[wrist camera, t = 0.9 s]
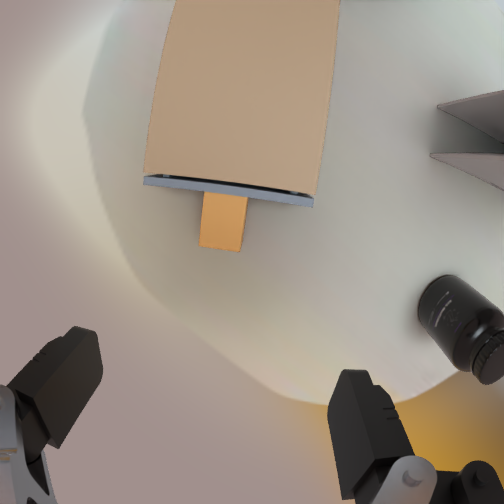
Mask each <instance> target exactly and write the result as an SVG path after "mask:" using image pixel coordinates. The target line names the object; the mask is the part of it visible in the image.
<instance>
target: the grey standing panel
mask: <svg viewBox="0 0 504 504" xmlns="http://www.w3.org/2000/svg"><path fill="white" fill-rule="evenodd" d="M437 108H439V109H441V110H443V111H445V112H447V113H449V114H451V115H453V116H455V117H457V118H459V119H461V120H463V121H465V122H467V123H468V124H470V125H472V126H474V127H476V128H477V129H479V130H481V131H483V132H484V133H486V134H488V135H490V136H491V137H493V138H494V139H496V140H498V141H499V142H501V143H502V144H504V90H502V91H497V92H492V93H487V94H482V95H478V96H473V97H469V98H465V99H460V100H456V101H452V102H448V103H444V104H440V105H438V106H437ZM430 157H432V158H435V159H437V160H439V161H442V162H444V163H447V164H449V165H451V166H453V167H456V168H458V169H460V170H462V171H465V172H467V173H469V174H471V175H473V176H475V177H477V178H479V179H481V180H483V181H485V182H487V183H489V184H491V185H493V186H495V187H497V188H499V189H501V190H503V191H504V153H434V154H430Z"/></svg>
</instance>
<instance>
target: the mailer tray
mask: <svg viewBox="0 0 504 504" xmlns="http://www.w3.org/2000/svg"><path fill="white" fill-rule="evenodd" d="M143 185H151V186H161V187H170V188H179V189H188V190H196V191H204V200H203V209H202V218H201V227H200V237H199V246H202V247H208V248H215V249H222V250H228V251H235V252H240V249H241V245H242V242H243V235H244V228H245V220H246V213H247V206H248V199H249V198H256V199H263V200H269V201H276V202H282V203H288V204H294V205H300V206H306V207H312V208H313V203H314V199H313V198H312V197H311V196H309V195H308V194H307V193H301V192H295V191H289V190H283V189H277V188H270V187H264V186H257V185H250V184H243V183H236V182H228V181H220V180H212V179H204V178H195V177H186V176H177V175H167V174H157V175H150V176H144V182H143Z"/></svg>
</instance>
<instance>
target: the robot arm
mask: <svg viewBox="0 0 504 504" xmlns="http://www.w3.org/2000/svg"><path fill="white" fill-rule="evenodd" d="M102 375H103V365H102V360H101V354H100V349H99V343H98V337H97V334H96V332H95V331H92V330H88V329H85V328H81V327H78V326H74V327H72V328H71V329H70V330H69V331H68V332H67V333H66V334H65V335H64V336H63V337H61V336H60V337H58V338H56V339H54V340H52V341H50V342H48V343H47V344H46V345H45V346H44V347H43V348H42V349H41V350H40V352H39V353H37V354H36V355H35V356H34V357H33V360H30V361H29V363H28V364H27V365H26V366H25V367H24V368H23V369H22V370H21V371H20V372H19V373H18V374H17V375H16V376H15V377H14V379H12V381H11V382H10V383H9V384H8V385H7V386H4V385H0V504H58V503H57V501H56V499H55V495H54V491H53V488H52V484H51V479H50V475H49V471H48V466H47V462H46V457H45V452H44V450H43V448H44V447H45V445H46V444H49V445H51V446H53V447H55V448H57V449H59V448H60V446H61V444H62V443H63V441H64V439H65V438H66V436H67V435H68V433H69V431H70V430H71V428H72V426H73V425H74V423H75V421H76V420H77V418H78V417H79V415H80V413H81V412H82V410H83V409H84V407H85V406H86V404H87V402H88V401H89V399H90V398H91V396H92V395H93V393H94V391H95V390H96V388H97V387H98V385H99V384H100V382H101V379H102ZM327 417H328V424H329V429H330V434H331V440H332V445H333V450H334V456H335V461H336V467H337V472H338V478H339V484H340V490H341V496H342V500H348V499H355V503H356V504H504V489H503V487H502V485H501V482H500V480H499V478H498V475H497V473H496V471H495V470H494V468H493V467H492V466H491V465H489V464H488V463H486V462H484V461H472V462H470V463H468V464H467V465H466V466H465V467H464V468H463V469H462V470H461V471H460V472H452V471H437V470H435V468H434V466H433V465H432V464H431V463H430V462H429V461H427V460H426V459H424V458H422V457H419V456H415V454H414V452H413V449H412V447H411V444H410V442H409V439H408V437H407V434H406V432H405V430H404V427H403V425H402V423H401V420H400V419H399V415H398V413H397V411H396V410H395V406H394V404H393V402H392V399H391V397H390V395H389V394H388V393H387V392H386V391H385V390H384V389H383V388H382V387H381V386H380V385H373V383H372V380H371V378H370V376H369V373H368V371H367V370H349V369H344V370H343V371H342V372H341V374H340V376H339V379H338V382H337V384H336V387H335V390H334V392H333V395H332V397H331V400H330V402H329V406H328V414H327Z"/></svg>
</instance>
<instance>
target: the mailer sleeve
mask: <svg viewBox="0 0 504 504" xmlns="http://www.w3.org/2000/svg"><path fill="white" fill-rule="evenodd" d="M339 6H340V0H176V2H175V6H174V9H173V13H172V16H171V20H170V24H169V28H168V32H167V36H166V40H165V44H164V48H163V53H162V57H161V62H160V66H159V71H158V76H157V81H156V87H155V92H154V98H153V104H152V110H151V116H150V123H149V130H148V137H147V145H146V153H145V162H144V171H143V172H145V173H156V174H167V175H177V176H186V177H195V178H204V179H212V180H220V181H228V182H236V183H243V184H250V185H257V186H264V187H270V188H277V189H283V190H289V191H295V192H301V193H307V194H312V195H315V194H316V188H317V183H318V177H319V170H320V164H321V158H322V152H323V145H324V138H325V131H326V124H327V117H328V110H329V102H330V95H331V86H332V78H333V69H334V60H335V51H336V41H337V30H338V18H339Z"/></svg>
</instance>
